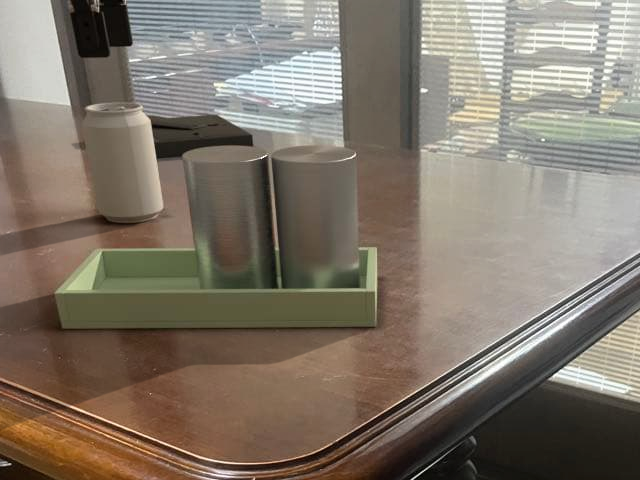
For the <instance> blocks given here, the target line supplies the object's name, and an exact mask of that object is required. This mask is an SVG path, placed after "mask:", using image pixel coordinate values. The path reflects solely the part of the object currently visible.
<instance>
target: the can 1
mask: <svg viewBox="0 0 640 480" xmlns="http://www.w3.org/2000/svg"><path fill="white" fill-rule="evenodd" d="M143 108H144V106H143V105H142V104H140V103H136V102H125V101H123V102H118V101H117V102H102V103H94V104H91V105H87V106H86V107H84V112H86V115H85V117H84V119H83V120H82V121H81V124H80V125H81V129H82V134H83V139H84V145H85V150H86V156H87V160H88V167H89V171H90V177H91V182H92V186H93V192H94V197H95V202H96V207H97V211H98V214H100V215H102V216H103V217H104V218H105V219H106V220H107V221H109V222H112V223H119V224H134V223H143V222H147V221H150V220H154V219H156V218H157V217H158V215H159V214H160V213H161V211H162V210H163V209H164V201H163V193H162V187H161V181H160V174H159V168H158V160H157V158H156V153H155V147H154V140H153V134H152V127H151V120H150V119H149V118H148V117H147V116H148V115H146V114H145V113H144V112H143Z"/></svg>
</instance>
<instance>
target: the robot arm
mask: <svg viewBox="0 0 640 480" xmlns="http://www.w3.org/2000/svg"><path fill="white" fill-rule="evenodd" d="M67 8H68V11H69V15H70V19H71V20H70V21H71V25H72V30H73V35H74V41H75V45H76V50H77V54H78V56H79V57H80V58H81V59H98V58H99V59H100V58H101V59H103V58H105V59H106V58H109V57H110V56H111V55H112V53H111V48H120V47H121V48H122V47H123V48H125V47H132V46H133V44H134V40H133V34H132V29H131V22H130V16H129V11H128V4H127V0H67Z"/></svg>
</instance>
